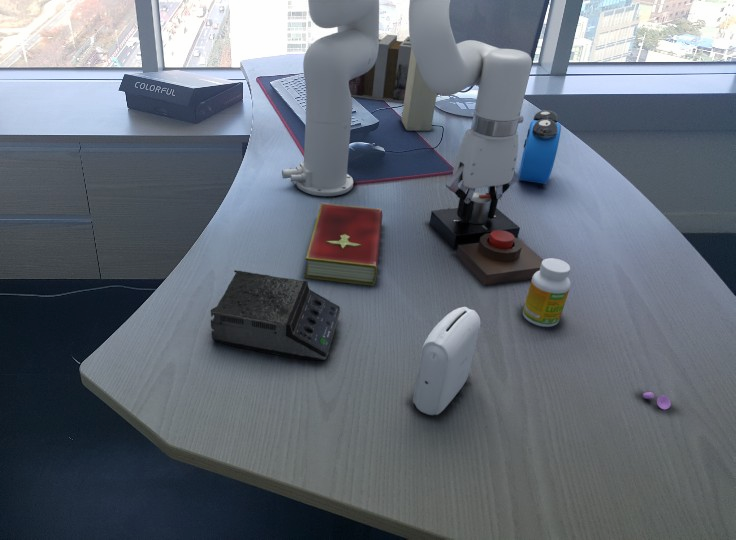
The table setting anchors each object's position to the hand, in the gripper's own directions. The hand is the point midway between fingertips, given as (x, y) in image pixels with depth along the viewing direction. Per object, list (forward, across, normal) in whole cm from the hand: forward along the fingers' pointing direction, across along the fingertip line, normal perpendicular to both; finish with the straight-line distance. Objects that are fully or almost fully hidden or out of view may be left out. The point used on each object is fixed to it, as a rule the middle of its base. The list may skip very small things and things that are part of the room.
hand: (475, 216), depth 121 cm
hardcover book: (+4, +26, 0) cm, 26 cm away
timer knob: (0, 0, 0) cm, 0 cm away
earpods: (+4, +1, +47) cm, 47 cm away
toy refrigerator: (+4, -18, -56) cm, 59 cm away
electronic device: (+4, +45, +19) cm, 49 cm away
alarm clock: (+4, -26, -18) cm, 32 cm away
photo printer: (+4, +28, +38) cm, 47 cm away
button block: (+4, +2, +12) cm, 13 cm away
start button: (0, +1, +10) cm, 11 cm away
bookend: (+4, -21, -86) cm, 89 cm away
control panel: (+4, 0, 0) cm, 4 cm away
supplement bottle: (+4, +4, +27) cm, 27 cm away
